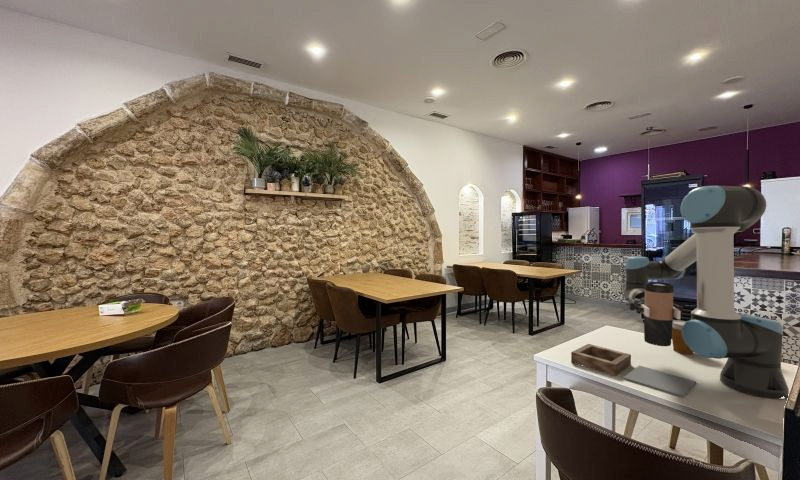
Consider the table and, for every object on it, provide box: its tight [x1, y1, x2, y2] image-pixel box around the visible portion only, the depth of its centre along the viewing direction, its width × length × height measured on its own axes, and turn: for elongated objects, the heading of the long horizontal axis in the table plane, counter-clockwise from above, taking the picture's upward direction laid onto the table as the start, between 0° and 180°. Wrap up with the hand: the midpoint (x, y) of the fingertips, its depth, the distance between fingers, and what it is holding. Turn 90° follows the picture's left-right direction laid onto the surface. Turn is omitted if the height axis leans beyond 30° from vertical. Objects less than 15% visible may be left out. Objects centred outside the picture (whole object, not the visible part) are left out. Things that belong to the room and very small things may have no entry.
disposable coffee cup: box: [671, 319, 694, 355], centre depth 138 cm, size 10×10×12 cm
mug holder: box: [570, 343, 632, 377], centre depth 126 cm, size 15×15×4 cm
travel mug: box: [643, 281, 674, 347], centre depth 112 cm, size 8×8×20 cm
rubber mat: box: [622, 365, 697, 399], centre depth 112 cm, size 16×16×1 cm
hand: (663, 313), depth 107 cm, fingers closed on travel mug, 7 cm apart
